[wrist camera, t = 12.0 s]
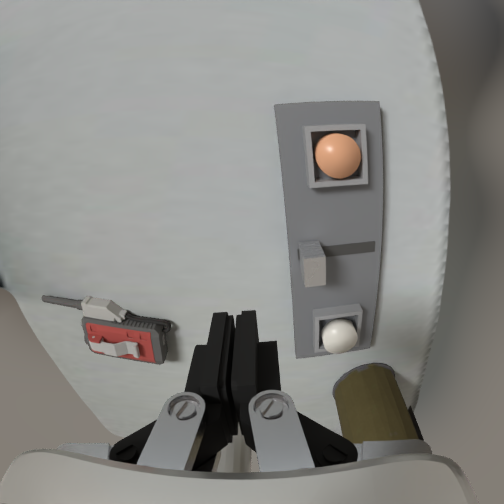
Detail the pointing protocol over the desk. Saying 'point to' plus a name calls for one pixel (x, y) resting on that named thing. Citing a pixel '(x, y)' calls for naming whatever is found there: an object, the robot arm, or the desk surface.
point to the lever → (312, 263)
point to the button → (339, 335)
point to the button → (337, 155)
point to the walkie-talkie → (119, 330)
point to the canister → (373, 406)
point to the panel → (332, 217)
